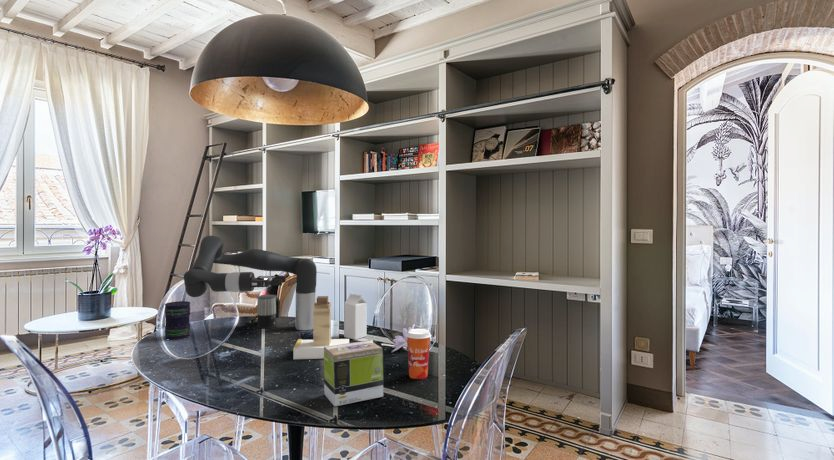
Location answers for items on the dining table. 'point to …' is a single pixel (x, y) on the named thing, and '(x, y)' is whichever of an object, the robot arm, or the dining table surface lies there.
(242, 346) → the dining table surface
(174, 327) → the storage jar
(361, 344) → the tea box
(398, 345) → the water lily
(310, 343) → the white flat box
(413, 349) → the coffee cup
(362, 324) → the milk carton
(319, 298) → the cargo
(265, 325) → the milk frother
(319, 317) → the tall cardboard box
